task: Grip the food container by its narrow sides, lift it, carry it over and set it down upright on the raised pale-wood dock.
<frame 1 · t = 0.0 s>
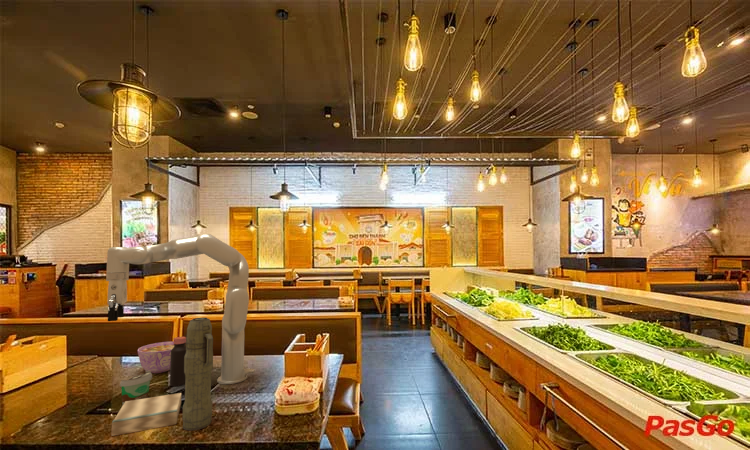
hand: (115, 318, 145), 31 cm above the table, tool pointing down, fingers open, 9 cm apart
bottle: (178, 384, 156), on the table
dock: (149, 418, 124), on the table
bowl of food: (160, 370, 175), on the table
food container: (139, 402, 138), on the table
thermos: (197, 424, 119), on the table
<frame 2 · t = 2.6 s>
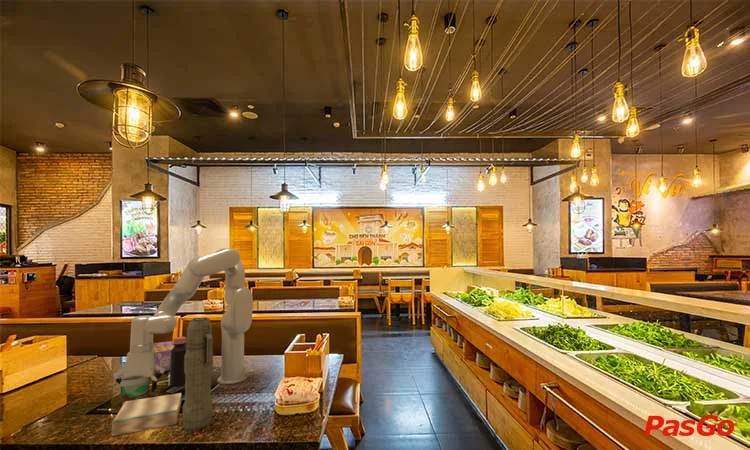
hand: (139, 392, 138), 3 cm above the table, tool pointing down, fingers open, 9 cm apart
food container: (139, 402, 138), on the table, touching gripper
everything else where it was.
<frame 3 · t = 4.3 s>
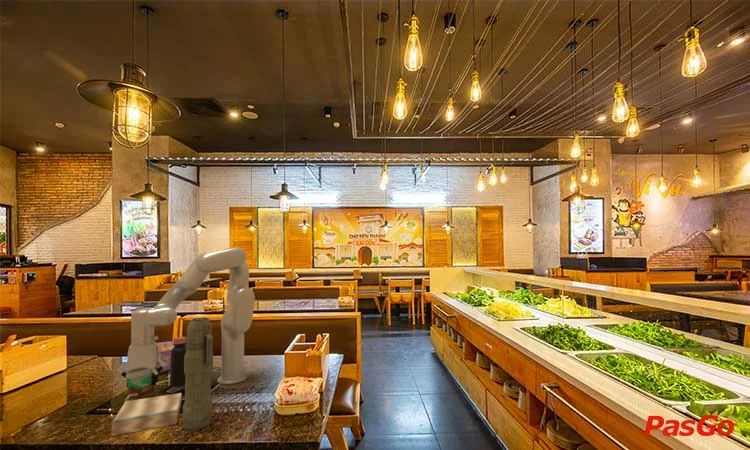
hand: (142, 386, 139), 6 cm above the table, tool pointing down, fingers closed on food container, 7 cm apart
food container: (146, 393, 139), point 3 cm above the table, touching gripper
everything else where it was.
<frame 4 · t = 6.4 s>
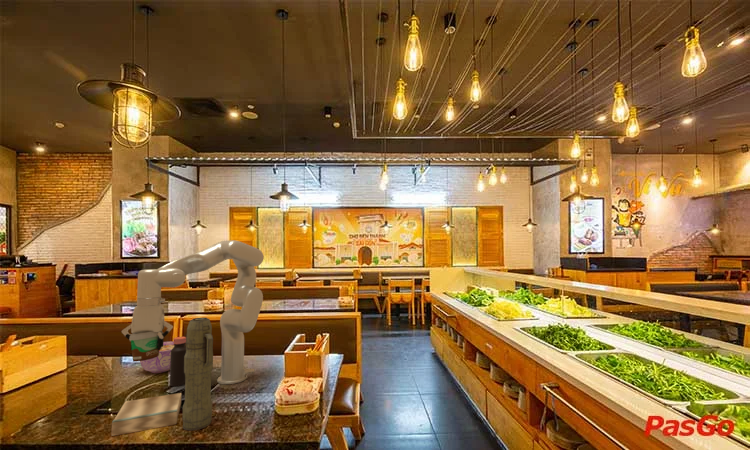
hand: (147, 350, 131), 22 cm above the table, tool pointing down, fingers closed on food container, 7 cm apart
food container: (150, 358, 132), point 19 cm above the table, touching gripper
everything else where it was.
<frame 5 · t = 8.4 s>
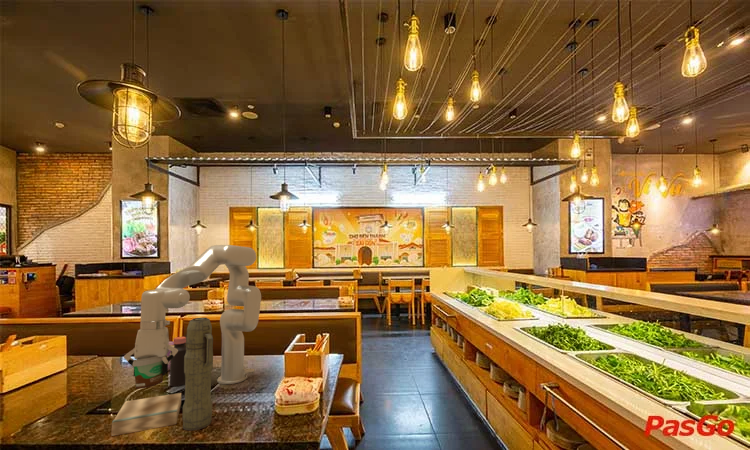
hand: (150, 375, 125), 14 cm above the table, tool pointing down, fingers closed on food container, 7 cm apart
food container: (154, 384, 125), point 11 cm above the table, touching gripper
everything else where it was.
when the fingers open (8 cm above the table, at t = 10.1 s): food container stays where it is, resting on dock.
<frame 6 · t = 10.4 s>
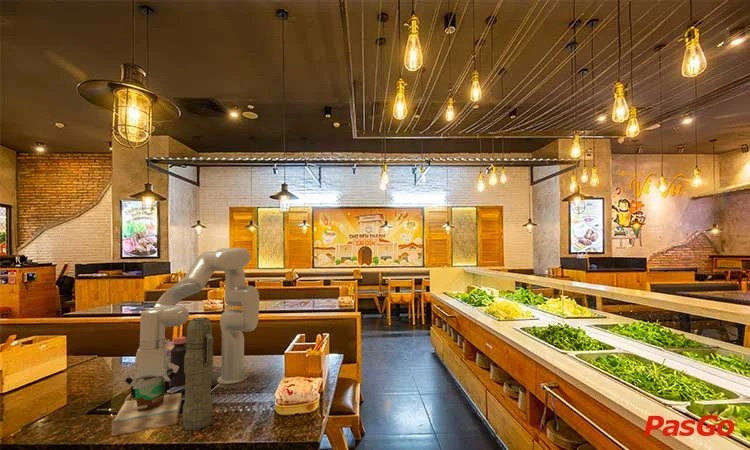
hand: (150, 394, 124), 8 cm above the table, tool pointing down, fingers open, 9 cm apart
food container: (155, 405, 125), point 4 cm above the table, touching dock
everything else where it was.
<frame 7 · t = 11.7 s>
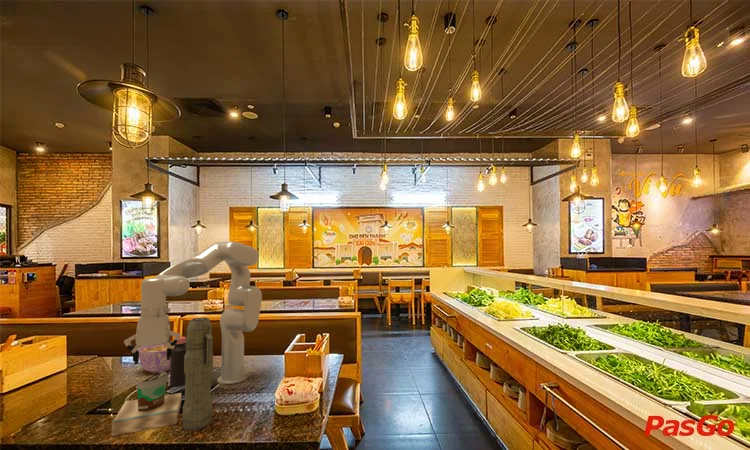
hand: (152, 361, 126), 19 cm above the table, tool pointing down, fingers open, 9 cm apart
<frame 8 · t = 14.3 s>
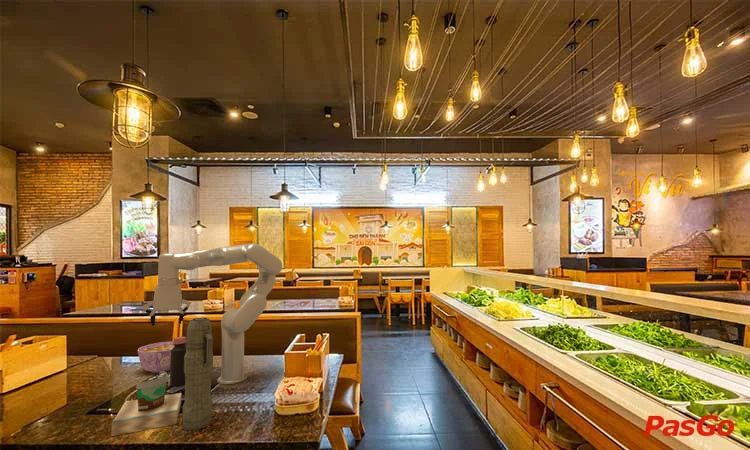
hand: (167, 324, 147), 28 cm above the table, tool pointing down, fingers open, 9 cm apart
nothing on the table moved.
at the end: food container inside the target area on the dock (1.9 cm from its centre), point 3.8 cm above the dock's base; food container tilted 0°; the gripper is holding nothing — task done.
